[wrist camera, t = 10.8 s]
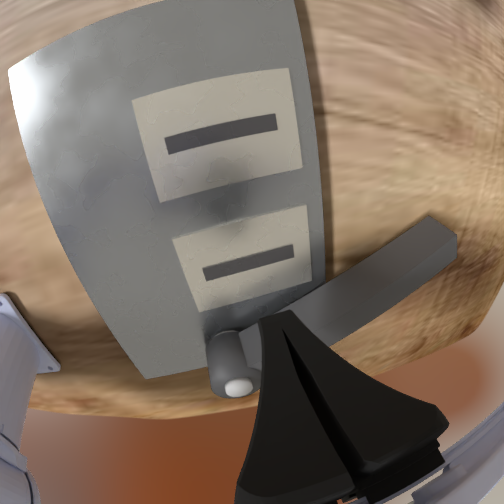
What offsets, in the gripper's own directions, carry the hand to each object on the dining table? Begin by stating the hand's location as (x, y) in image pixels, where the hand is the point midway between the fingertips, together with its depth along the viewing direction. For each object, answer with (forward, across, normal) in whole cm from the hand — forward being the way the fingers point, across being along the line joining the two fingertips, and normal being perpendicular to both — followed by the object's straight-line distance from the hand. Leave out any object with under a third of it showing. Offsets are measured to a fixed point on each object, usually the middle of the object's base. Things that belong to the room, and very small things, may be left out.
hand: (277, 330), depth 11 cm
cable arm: (+5, -4, +4) cm, 8 cm away
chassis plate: (+6, +2, -3) cm, 7 cm away
